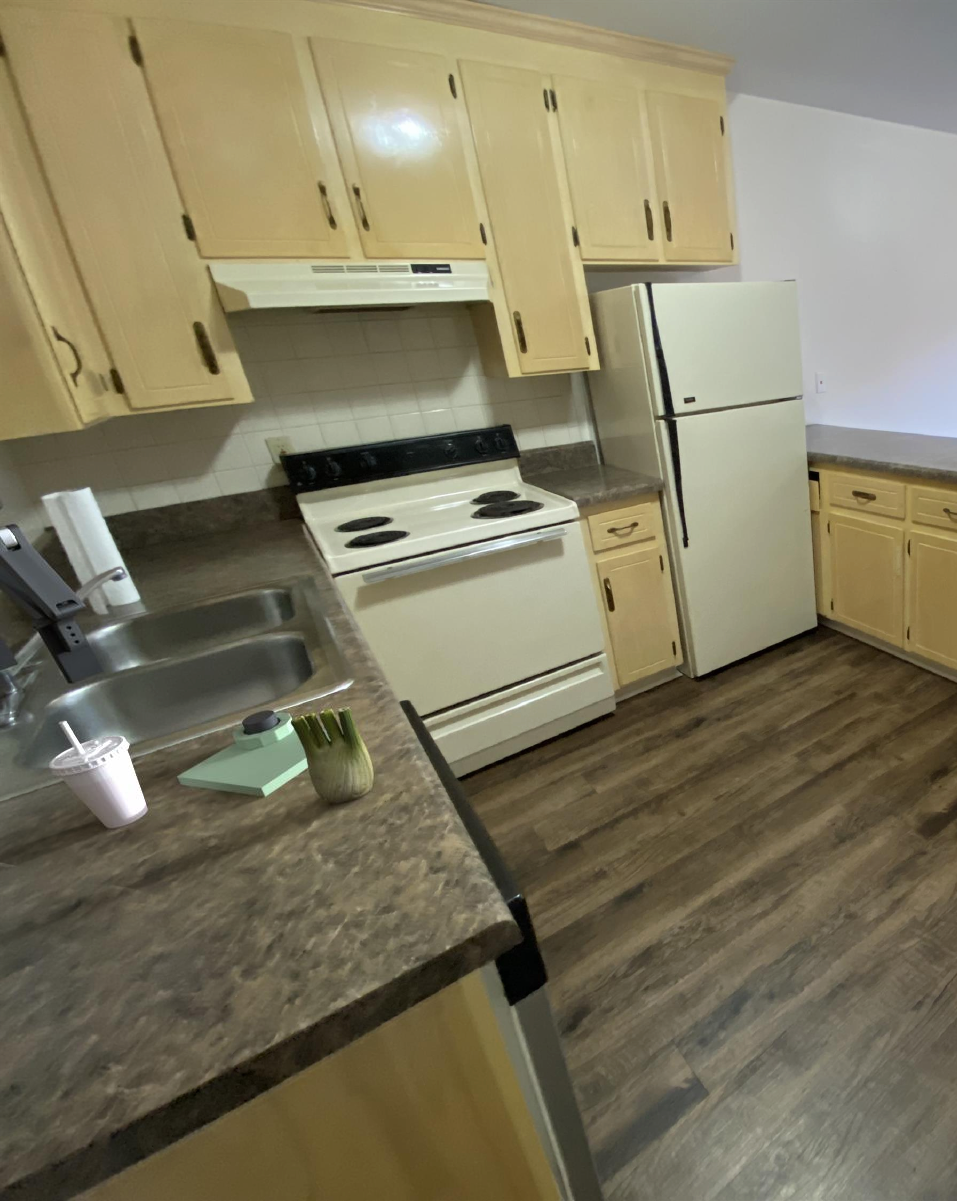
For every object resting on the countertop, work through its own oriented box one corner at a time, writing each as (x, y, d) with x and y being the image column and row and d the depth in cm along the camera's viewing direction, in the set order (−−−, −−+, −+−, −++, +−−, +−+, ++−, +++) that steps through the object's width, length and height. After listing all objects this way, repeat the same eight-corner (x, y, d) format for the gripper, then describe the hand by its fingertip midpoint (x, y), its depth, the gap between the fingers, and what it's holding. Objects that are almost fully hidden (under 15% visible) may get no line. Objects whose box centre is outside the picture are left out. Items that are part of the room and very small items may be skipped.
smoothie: (76, 833, 76) (11, 733, 71) (138, 797, 82) (83, 701, 76) (115, 840, 75) (52, 738, 69) (176, 802, 80) (122, 705, 75)
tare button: (240, 734, 89) (234, 723, 88) (265, 719, 92) (260, 709, 92) (260, 736, 88) (255, 725, 88) (285, 721, 91) (280, 711, 91)
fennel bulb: (386, 783, 81) (354, 701, 77) (358, 810, 77) (322, 724, 72) (343, 782, 82) (309, 701, 77) (313, 809, 77) (275, 724, 73)
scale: (179, 785, 84) (169, 766, 82) (274, 728, 95) (266, 711, 94) (265, 797, 80) (255, 777, 79) (353, 737, 92) (345, 719, 90)
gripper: (64, 467, 62) (164, 662, 71) (-100, 472, 69) (10, 651, 77) (-44, 486, 56) (80, 699, 64) (-216, 490, 62) (-82, 684, 70)
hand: (42, 673), depth 70 cm, fingers open, 13 cm apart
